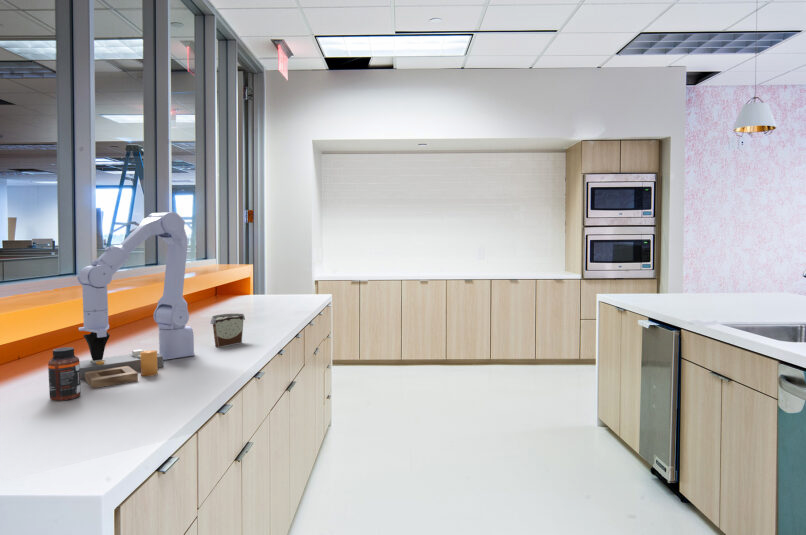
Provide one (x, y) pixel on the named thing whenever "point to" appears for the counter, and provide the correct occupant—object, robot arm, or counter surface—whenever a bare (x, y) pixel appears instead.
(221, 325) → the food container
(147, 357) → the cap
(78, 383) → the supplement bottle
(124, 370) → the frame
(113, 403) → the counter surface
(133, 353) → the block
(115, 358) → the breaker panel
